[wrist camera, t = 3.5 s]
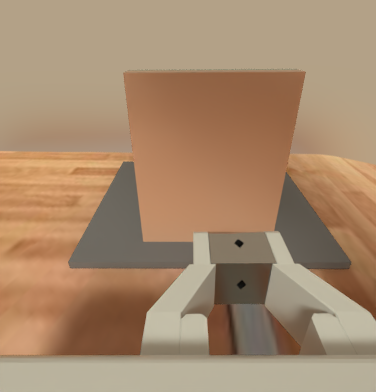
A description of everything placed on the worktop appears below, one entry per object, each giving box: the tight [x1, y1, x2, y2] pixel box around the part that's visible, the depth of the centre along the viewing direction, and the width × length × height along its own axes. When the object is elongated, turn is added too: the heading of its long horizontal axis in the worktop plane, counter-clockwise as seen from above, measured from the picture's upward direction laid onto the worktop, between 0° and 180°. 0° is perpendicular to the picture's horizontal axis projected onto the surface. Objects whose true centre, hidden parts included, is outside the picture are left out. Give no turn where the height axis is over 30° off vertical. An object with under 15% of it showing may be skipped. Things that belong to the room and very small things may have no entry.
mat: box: [68, 162, 352, 269], centre depth 27 cm, size 20×18×1 cm
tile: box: [123, 69, 306, 242], centre depth 18 cm, size 10×2×12 cm, turn 90°
